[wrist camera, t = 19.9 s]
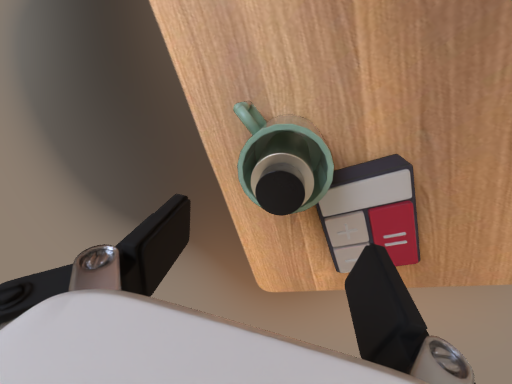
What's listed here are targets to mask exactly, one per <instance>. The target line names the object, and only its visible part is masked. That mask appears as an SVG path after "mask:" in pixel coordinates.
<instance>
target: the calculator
mask: <svg viewBox="0 0 512 384" xmlns="http://www.w3.org/2000/svg"><path fill="white" fill-rule="evenodd" d="M316 207H317V211H318V214H319V217H320V220H321V223H322V227H323V230H324V233H325V236H326V239H327V243H328V246H329V249H330V252H331V255H332V259H333V262H334V265H335V268H336V271H337V272H341V273H347V272H350V271H351V270H352V268H353V266H354V265H355V263H356V261H357V259H358V258H359V256H360V254H361V252H362V251H363V249H364V247H365V246H366V245H369V244H371V243H373V244H377V245H381V246H384V247H385V248H386V250H387V252H388V254H389V256H390V258H391V260H392V262H393V264H394V265H395V266H402V265H409V264H416V263H418V262H419V261H420V249H419V236H418V224H417V212H416V199H415V187H414V175H413V166H412V165H411V164H410V163H409V162H407V161H406V160H405V159H404V158H402V157H401V156H400V155H398V154H395V155H391V156H387V157H384V158H380V159H376V160H373V161H369V162H366V163H362V164H358V165H355V166H351V167H347V168H344V169H340V170H337V171H334V172H333V181H332V183H331V185H330V187H329V189H328V191H327V193H326V195H325V196H324V197H323V198H322V199H321V200H320V201H319V202H318V203H317V204H316Z"/></svg>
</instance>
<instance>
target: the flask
mask: <svg viewBox="0 0 512 384" xmlns="http://www.w3.org/2000/svg"><path fill="white" fill-rule="evenodd" d="M251 188H252V191H253V193H254V195H255V197H256V199H257V201H258V203H259V205H260V206H261V207H262V208H263V209H264V210H266V211H267V212H269V213H271V214H274V215H288V214H291V213H293V212H295V211H296V210H298V209H299V208H300V207H301V206H302V205H303V204H304V203H305V202H306V201H307V200H308V199H309V198H310V196H311V194H312V192H313V189H314V176H313V170H312V164H311V159H310V153H309V147H308V144H307V142H306V141H305V139H304V138H303V137H302V136H300V135H299V134H297V133H294V132H281V133H279V134H277V135H275V136H274V137H272V138H271V140H270V141H269V142H268V144H267V146H266V148H265V150H264V151H263V153H262V155H261V157H260V159H259V160H258V162H257V164H256V166H255V168H254V169H253V172H252V175H251Z"/></svg>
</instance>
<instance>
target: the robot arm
mask: <svg viewBox="0 0 512 384" xmlns="http://www.w3.org/2000/svg"><path fill="white" fill-rule="evenodd" d="M189 231H190V200H189V199H188V197H187V196H184V195H180V194H175V195H174V196H173V197H172V198H170V199H169V200H168V201H167V202H166V203H165V204H164V205H163V206H162V207H160V208H159V209H158V210H157V211H156V212H155V213H153V214H151V215H150V216H149V217H148V218H147V219H145V220H144V221H143V222H142V223H141V224H140V225H139V226H138V227H136V228H135V229H134V230H133V231H132V232H131V233H130V234H129V235H127V236H126V237H125V238H124V239H123V240H122V241H121V242H120V243H118V244H117V245H116V246H115V247H114V246H112V245H105V244H104V245H97V246H94V247H91V248H88V249H86V250H84V251H83V252H81V253H80V254H79V255H78V256H77V257H76V258H75V261H74V263H73V264H70V265H66V266H63V267H59V268H55V269H51V270H48V271H44V272H41V273H37V274H32V275H29V276H25V277H21V278H18V279H14V280H11V281H7V282H5V283H2V284H0V384H475V383H474V373H473V370H472V368H471V366H470V364H469V363H468V361H467V360H466V358H465V357H464V356H463V355H462V354H461V353H460V352H459V351H458V350H457V349H456V348H455V347H454V346H453V345H451V344H450V343H448V342H447V341H445V340H444V339H441V338H439V337H437V336H429V334H428V332H427V330H426V329H427V326H426V324H425V322H424V321H423V319H422V317H421V315H420V313H419V311H418V309H417V307H416V305H415V304H414V302H413V300H412V298H411V296H410V294H409V292H408V290H407V288H406V286H405V284H404V282H403V281H402V279H401V277H400V275H399V273H398V271H397V269H396V267H395V265H394V264H393V262H392V260H391V258H390V256H389V254H388V252H387V250H386V248H385V247H384V246H381V245H377V244H373V243H371V244H369V245H366V246H365V247H364V249H363V251H362V252H361V254H360V256H359V258H358V259H357V261H356V263H355V265H354V266H353V268H352V270H351V271H350V273H349V275H348V277H347V278H346V280H345V290H346V294H347V298H348V303H349V307H350V312H351V316H352V321H353V325H354V329H355V334H356V338H357V343H358V347H359V351H360V355H361V358H362V359H360V358H357V357H353V356H350V355H347V354H344V353H341V352H337V351H334V350H331V349H327V348H324V347H321V346H317V345H314V344H311V343H307V342H304V341H301V340H297V339H294V338H290V337H287V336H284V335H281V334H277V333H274V332H270V331H267V330H263V329H260V328H257V327H253V326H250V325H246V324H243V323H240V322H236V321H233V320H230V319H226V318H223V317H219V316H216V315H212V314H209V313H205V312H202V311H198V310H195V309H192V308H188V307H184V306H181V305H177V304H174V303H170V302H167V301H163V300H159V299H155V298H151V297H150V296H151V295H152V294H153V293H154V291H155V290H156V288H157V287H158V285H159V284H160V282H161V281H162V280H163V278H164V277H165V275H166V274H167V272H168V271H169V269H170V268H171V267H172V265H173V264H174V262H175V261H176V259H177V258H178V256H179V255H180V254H181V252H182V251H183V249H184V248H185V246H186V245H187V243H188V241H189Z"/></svg>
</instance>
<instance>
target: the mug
mask: <svg viewBox="0 0 512 384" xmlns="http://www.w3.org/2000/svg"><path fill="white" fill-rule="evenodd" d="M233 110H234V112H235V114H236V115H237V116H238V117H239V119H240V120H241V121H242V123H243V124H244V125H245V126H246V128H247V129H248V130H249V132H250V133H251V134H252V136H251V137H250V138H249V140H248V141H247V142H246V144H245V146H244V147H243V149H242V150H241V153H240V156H239V161H238V165H237V168H238V178H239V181H240V184H241V186H242V188H243V190H244V192H245V193H246V195H247V196H248V197H249V198H250V199H251V200H252V201H253V202H254V203H255V204H257V205H258V206H260V205H259V203H258V201H257V199H256V197H255V195H254V193H253V191H252V188H251V175H252V172H253V169H254V168H255V166H256V164H257V162H258V160H259V159H260V157H261V155H262V153H263V151H264V150H265V148H266V146H267V144H268V142H269V141H270V140H271V138H272V137H274V136H275V135H277V134H279V133H281V132H294V133H297V134H299V135H300V136H302V137H303V138H304V139H305V141H306V142H307V144H308V147H309V153H310V159H311V164H312V170H313V176H314V189H313V192H312V194H311V196H310V198H309V199H308V200H307V201H306V202H305V203H304V204H303V205H302V206H301V207H300V208H299V209H298V210H296V211H295V212H293V213H297V212H301V211H305V210H307V209H308V208H310V207H312V206H314V205H316V204H317V203H318V202H319V201H320V200H321V199H322V198H323V197H324V196H325V195H326V193H327V191H328V189H329V187H330V185H331V183H332V181H333V172H334V164H333V160H332V156H331V152H330V150H329V148H328V146H327V144H326V142H325V140H324V138H323V136H322V134H321V133H320V131H319V130H318V128H317V127H316V126H315V125H314V124H313V123H312V122H311V121H309V120H308V119H306V118H304V117H301V116H298V115H290V114H288V115H281V116H277V117H275V118H272V119H271V120H269V121H267V122H266V120H265V119H264V118H263V116H262V115H261V114H260V112H259V111H258V110H257V108H256V107H255V106H254V104H253V103H252V102H251V101H244V102H240V103H236V104H235V105H234V107H233ZM260 207H261V206H260ZM261 208H262V207H261ZM293 213H291V214H293Z"/></svg>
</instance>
